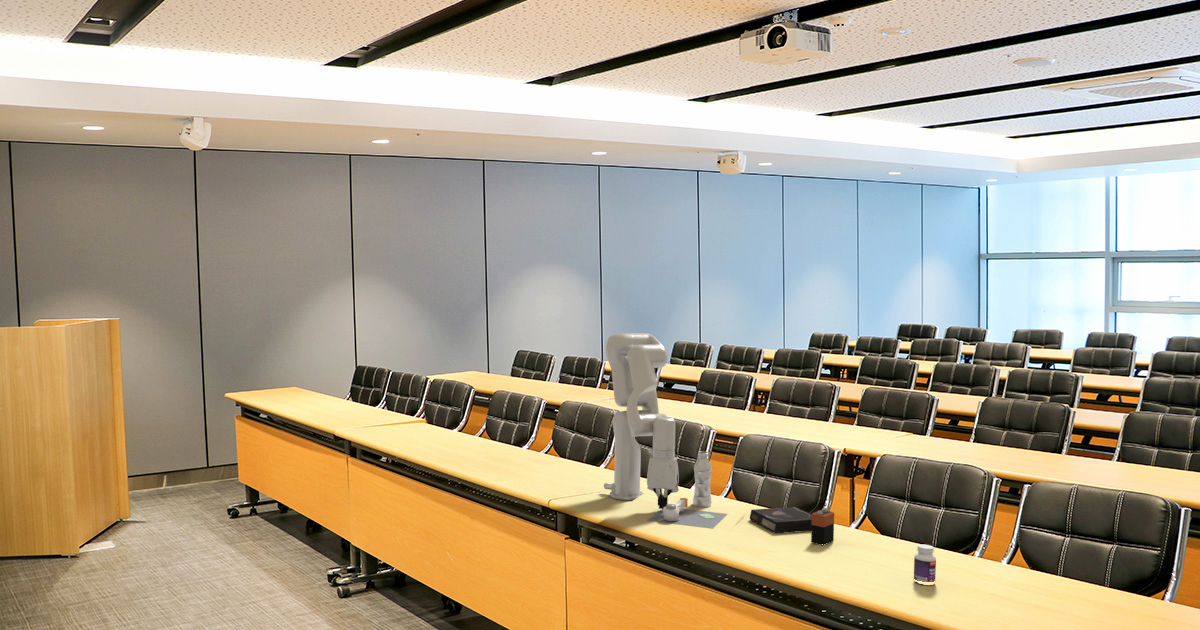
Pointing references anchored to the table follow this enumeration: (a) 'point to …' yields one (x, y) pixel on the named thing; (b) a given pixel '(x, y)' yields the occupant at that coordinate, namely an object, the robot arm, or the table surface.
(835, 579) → the table surface
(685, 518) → the dial board
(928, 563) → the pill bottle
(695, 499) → the plastic bottle
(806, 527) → the flat black box
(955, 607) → the table surface
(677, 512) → the white bar with knob
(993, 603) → the table surface
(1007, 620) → the table surface
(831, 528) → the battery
